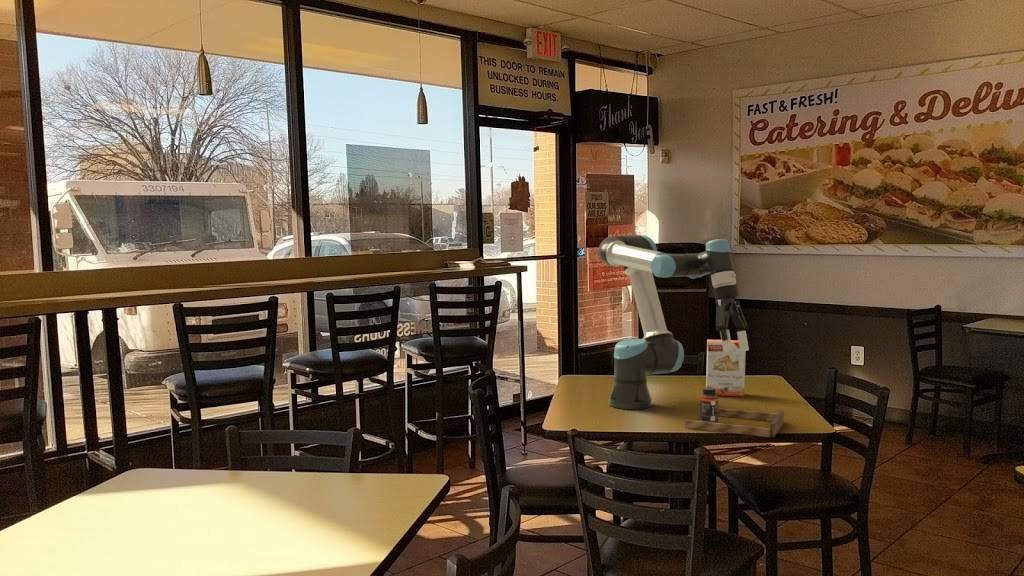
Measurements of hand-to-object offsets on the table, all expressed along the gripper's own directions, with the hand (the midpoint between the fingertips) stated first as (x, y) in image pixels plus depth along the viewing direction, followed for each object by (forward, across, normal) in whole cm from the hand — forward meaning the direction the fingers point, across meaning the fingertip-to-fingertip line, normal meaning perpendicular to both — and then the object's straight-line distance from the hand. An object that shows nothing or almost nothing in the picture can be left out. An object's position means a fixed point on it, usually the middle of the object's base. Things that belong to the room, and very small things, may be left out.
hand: (736, 350), depth 253 cm
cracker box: (+13, +45, +26) cm, 54 cm away
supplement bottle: (+22, +1, +14) cm, 26 cm away
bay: (+23, +3, +7) cm, 24 cm away
